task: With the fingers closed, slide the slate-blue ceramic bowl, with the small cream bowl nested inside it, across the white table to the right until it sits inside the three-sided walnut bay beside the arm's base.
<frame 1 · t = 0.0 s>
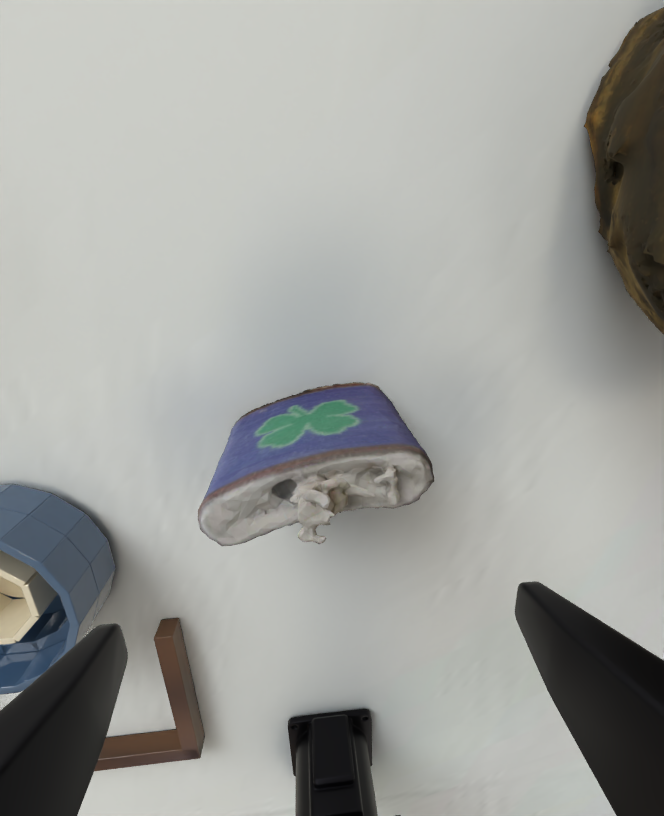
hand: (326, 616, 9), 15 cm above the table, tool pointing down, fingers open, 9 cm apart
pottery vessel: (663, 149, 20), on the table
flask: (309, 413, 23), on the table
bay: (76, 693, 28), on the table
small bowl: (22, 561, 24), resting on bowl
bowl: (27, 556, 24), on the table, touching small bowl
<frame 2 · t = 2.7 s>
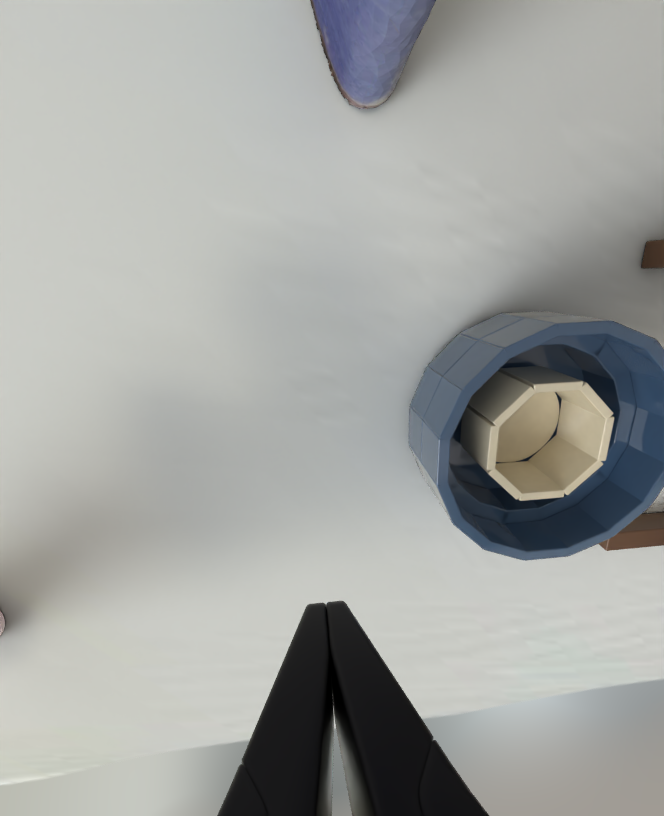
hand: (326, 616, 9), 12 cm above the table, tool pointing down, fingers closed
small bowl: (509, 417, 20), resting on bowl
bowl: (505, 414, 21), on the table, touching small bowl
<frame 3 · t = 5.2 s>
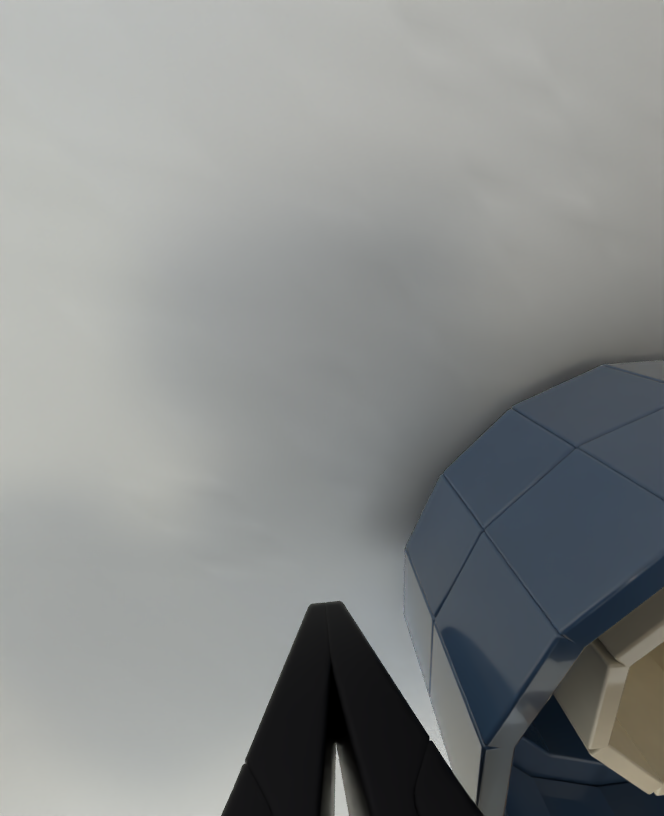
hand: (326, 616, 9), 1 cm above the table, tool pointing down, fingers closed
small bowl: (604, 561, 10), point 1 cm above the table
bowl: (590, 548, 11), on the table, touching gripper
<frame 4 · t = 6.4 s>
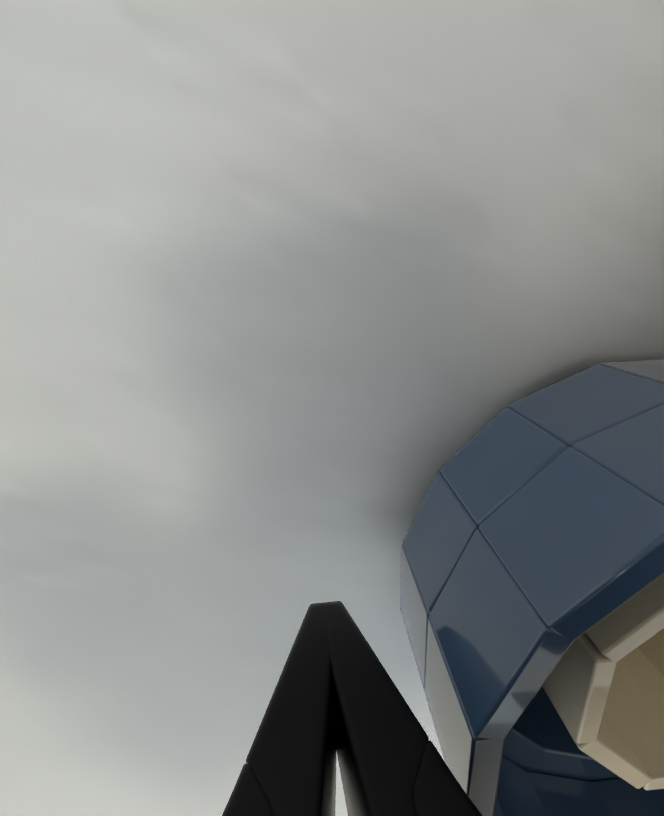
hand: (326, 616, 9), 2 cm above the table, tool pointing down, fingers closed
small bowl: (598, 559, 10), point 1 cm above the table, touching bowl
bowl: (587, 546, 11), on the table, touching gripper, small bowl
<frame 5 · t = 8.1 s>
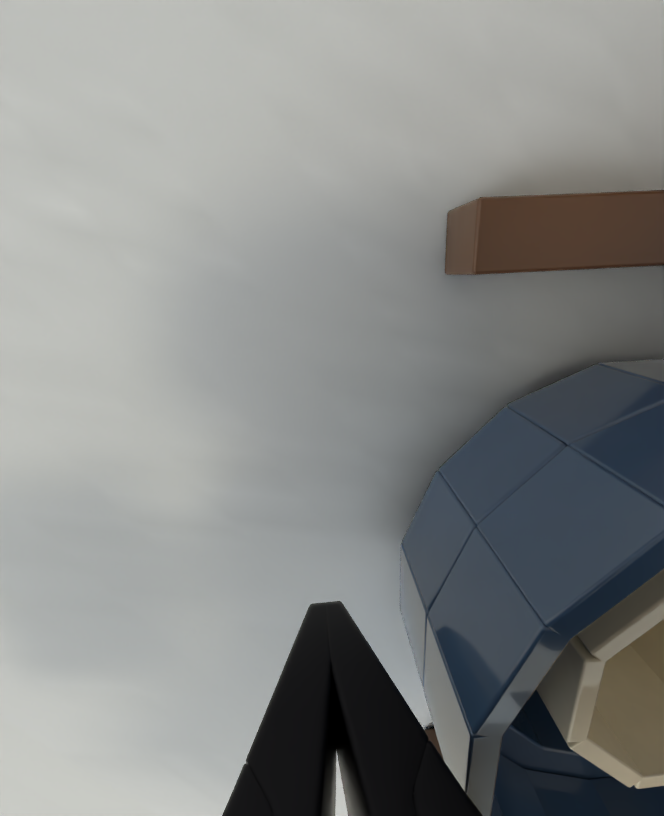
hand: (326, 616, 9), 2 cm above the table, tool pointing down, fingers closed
bay: (645, 533, 11), on the table
small bowl: (591, 558, 10), point 1 cm above the table, touching bowl
bowl: (585, 545, 11), on the table, touching gripper, small bowl
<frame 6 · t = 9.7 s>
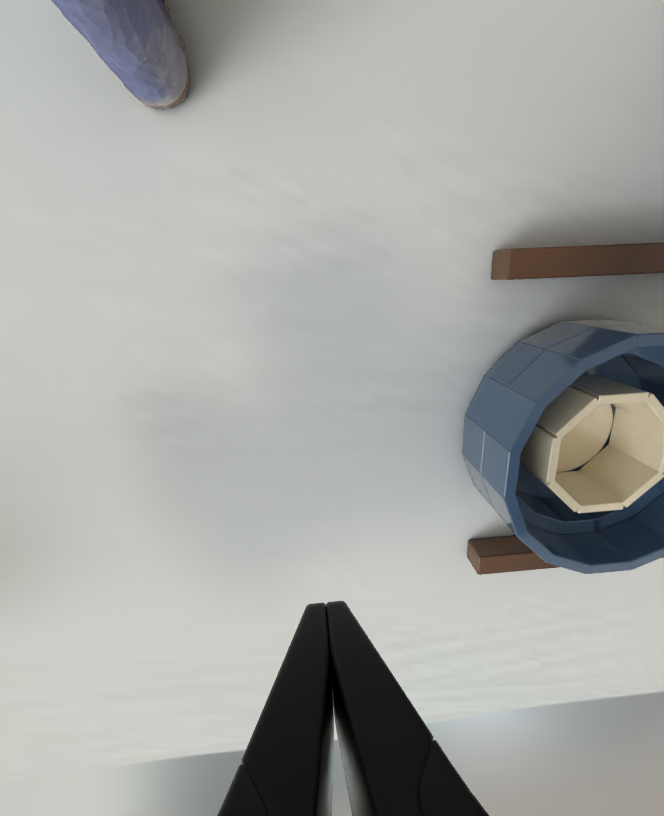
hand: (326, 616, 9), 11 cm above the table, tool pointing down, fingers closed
bay: (590, 416, 20), on the table
small bowl: (561, 426, 20), resting on bowl
bowl: (559, 423, 20), on the table, touching small bowl
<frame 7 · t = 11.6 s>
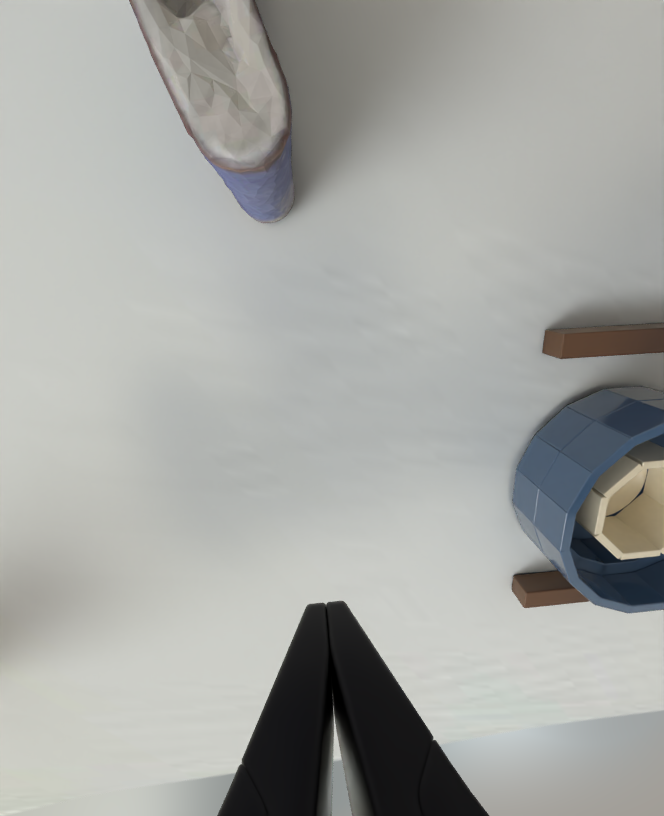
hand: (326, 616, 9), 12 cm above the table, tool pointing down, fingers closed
flask: (239, 102, 16), on the table
bay: (625, 467, 23), on the table
small bowl: (600, 477, 22), resting on bowl
bowl: (597, 473, 22), on the table, touching small bowl
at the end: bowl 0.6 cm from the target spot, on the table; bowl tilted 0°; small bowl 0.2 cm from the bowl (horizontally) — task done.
